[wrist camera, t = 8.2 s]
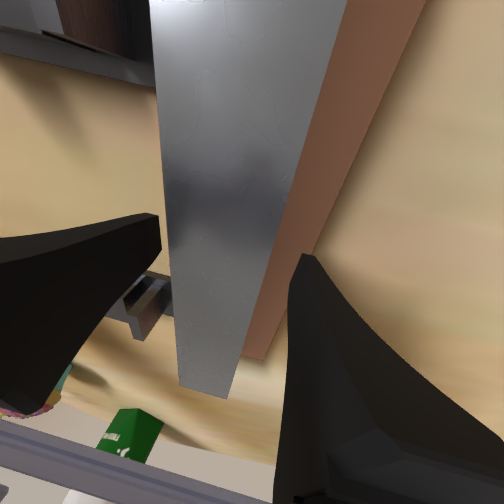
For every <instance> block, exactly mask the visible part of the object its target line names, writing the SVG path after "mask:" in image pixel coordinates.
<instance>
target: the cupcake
mask: <svg viewBox="0 0 504 504" xmlns="http://www.w3.org/2000/svg"><path fill="white" fill-rule="evenodd" d="M71 369H72V365H71V363H70V364H69V366H68V367H67V369H66V370H65V372H64V374H63V375H62V377H61V378H60V380H59V382H58V383H57V385H56V386H55V388H54V390H53V391H52V393H51V394H50V396H49V398H48V399H47V401H46V403H45V404H44V406H43V408H41V409H40V410H38V411H37V412H35V413H32V414H30V415H22V414H19V413H16V412H13V411H9V410H6V409H3V408H0V418H1V417H2V416H5V415H7V416H8V417H11V416H13V417H15V418H18V419H24V418H27V417H28V418H29V417H32V416H37V415H39V414H42V413H44V412H46V411H49V410H50V409H52V408H53V406H54V405H55V404H56V403H57V402H58V401H59V400H60V399H61V394H60V393H61V391H62V387H63V384H64V382H65V380H66V378H67V376H68V374H69V372H70V370H71Z"/></svg>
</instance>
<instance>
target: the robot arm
mask: <svg viewBox="0 0 504 504" xmlns="http://www.w3.org/2000/svg"><path fill="white" fill-rule="evenodd" d="M161 250H162V245H161V236H160V226H159V216H157V215H153V214H150V213H141V214H135V215H130V216H126V217H121V218H117V219H112V220H108V221H104V222H99V223H95V224H90V225H85V226H80V227H75V228H70V229H65V230H59V231H53V232H47V233H40V234H33V235H25V236H16V237H5V238H0V408H3V409H6V410H9V411H13V412H16V413H19V414H22V415H30V414H32V413H35V412H37V411H38V410H40V409H41V408H43V406H44V404H45V403H46V401H47V399H48V398H49V396H50V394H51V393H52V391H53V390H54V388H55V386H56V385H57V383H58V382H59V380H60V378H61V377H62V375H63V374H64V372H65V370H66V369H67V367H68V366H69V364H70V363H71V362H72V360H73V359H74V357H75V356H76V354H77V353H78V351H79V350H80V348H81V347H82V345H83V344H84V343H85V341H86V340H87V339H88V337H89V336H90V334H91V333H92V332H93V330H94V329H95V328H96V326H97V325H98V324H99V322H100V321H101V320H102V318H103V317H104V316H105V315H106V313H107V312H108V311H109V310H110V308H111V307H112V306H113V305H114V304H115V302H116V301H117V300H118V299H119V298H120V297H121V296H122V295H123V294H124V293H125V292H126V291H127V290H128V289H129V288H130V287H131V286H132V284H133V283H134V282H135V281H136V280H137V279H138V278H139V277H140V276H141V275H142V274H143V273H144V272H145V271H146V270H147V269H148V268H149V267H150V266H151V264H152V263H153V262H154V260H155V259H156V258H157V256H158V255H159V253H160V252H161ZM287 315H288V359H287V372H286V383H285V394H284V404H283V413H282V422H281V431H280V439H279V447H278V455H277V463H276V470H275V477H274V485H273V503H272V504H504V442H503V440H502V439H501V438H500V437H499V436H498V435H496V434H495V433H494V432H492V431H491V430H490V429H489V428H487V427H486V426H485V425H483V424H482V423H481V422H480V421H478V420H477V419H476V418H474V417H473V416H472V415H470V414H469V413H468V412H467V411H465V410H464V409H463V408H461V407H460V406H459V405H458V404H456V403H455V402H454V401H452V400H451V399H450V398H449V397H447V396H446V395H445V394H443V393H442V392H441V391H440V390H439V389H437V388H436V387H435V386H434V385H433V384H431V383H430V382H429V381H428V380H427V379H426V378H424V377H423V376H422V375H421V374H420V373H418V372H417V371H416V370H415V369H414V368H413V367H411V366H410V365H409V364H408V363H407V362H406V361H405V360H404V359H402V358H401V357H400V356H399V355H398V354H397V353H396V352H395V351H394V350H393V349H392V348H391V347H390V346H389V345H387V344H386V343H385V342H384V341H383V340H382V339H381V338H380V337H379V336H378V335H377V334H376V333H375V332H374V331H373V330H372V329H371V328H370V327H369V325H368V324H367V323H366V322H365V321H364V320H363V319H362V318H361V317H360V316H359V315H358V314H357V312H356V311H355V310H354V309H353V308H352V307H351V305H350V304H349V303H348V302H347V300H346V299H345V298H344V297H343V295H342V294H341V293H340V291H339V290H338V289H337V287H336V286H335V285H334V283H333V282H332V280H331V279H330V278H329V276H328V275H327V273H326V272H325V270H324V269H323V267H322V266H321V264H320V263H319V261H318V260H317V258H316V257H315V256H313V255H309V254H305V253H302V254H301V257H300V259H299V261H298V264H297V266H296V269H295V271H294V273H293V276H292V278H291V281H290V283H289V291H288V300H287ZM0 466H1V467H4V468H7V469H11V470H13V471H16V472H20V473H23V474H26V475H29V476H32V477H35V478H38V479H41V480H44V481H47V482H51V483H54V484H57V485H60V486H63V487H66V488H69V489H72V490H75V491H78V492H82V493H85V494H88V495H91V496H94V497H97V498H100V499H103V500H106V501H109V502H113V503H116V504H271V503H268V502H265V501H262V500H259V499H255V498H252V497H249V496H246V495H243V494H239V493H236V492H233V491H230V490H227V489H223V488H220V487H217V486H214V485H211V484H207V483H204V482H201V481H198V480H195V479H191V478H188V477H185V476H182V475H178V474H175V473H172V472H169V471H166V470H163V469H159V468H156V467H153V466H150V465H146V464H143V463H140V462H137V461H134V460H131V459H127V458H124V457H121V456H118V455H115V454H111V453H108V452H105V451H102V450H99V449H95V448H92V447H89V446H86V445H83V444H79V443H76V442H73V441H70V440H66V439H63V438H60V437H57V436H54V435H50V434H47V433H44V432H41V431H38V430H34V429H31V428H28V427H25V426H22V425H18V424H15V423H12V422H9V421H6V420H2V419H0ZM8 490H9V487H7V486H5V485H2V484H0V502H1V501H2V500H3V498H4V497H5V496H6V495H7V493H8Z"/></svg>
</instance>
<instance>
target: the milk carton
mask: <svg viewBox="0 0 504 504" xmlns="http://www.w3.org/2000/svg"><path fill="white" fill-rule="evenodd" d="M163 425H164V423H162V422H161V421H159V420H157V419H155V418H154V417H152V416H150V415H149V414H147V413H145V412H143V411H142V410H140V409H121V410H119V411H118V413H117V414H116V416H115V418H114V419H113V421H112V423H111V424H110V426H109V427H108V429H107V431H106V432H105V434H104V436H103V437H102V439H101V440H100V442H99V444H98V445H97V447H96V449H99V450H102V451H105V452H108V453H111V454H115V455H118V456H121V457H124V458H127V459H131V460H134V461H137V462H140V463H143V464H145V462H146V460H147V458H148V456H149V453H150V452H151V449H152V447H153V445H154V443H155V441H156V439H157V437H158V435H159V433H160V431H161V429H162V427H163ZM62 504H116V503H113V502H109V501H106V500H103V499H100V498H97V497H94V496H91V495H88V494H85V493H82V492H78V491H75V490H72V489H71V490H70V491H69V493H68V495H67V496H66V498H65V500H64V501H63V503H62Z"/></svg>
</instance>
